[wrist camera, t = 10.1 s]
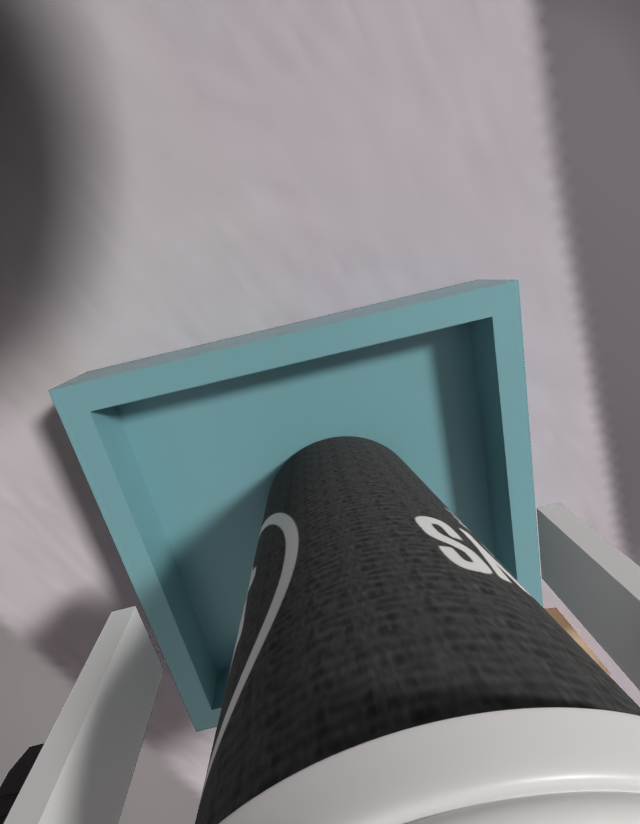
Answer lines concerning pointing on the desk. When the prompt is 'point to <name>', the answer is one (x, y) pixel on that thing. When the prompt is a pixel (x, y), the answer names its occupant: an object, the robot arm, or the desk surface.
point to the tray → (289, 433)
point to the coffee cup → (405, 671)
